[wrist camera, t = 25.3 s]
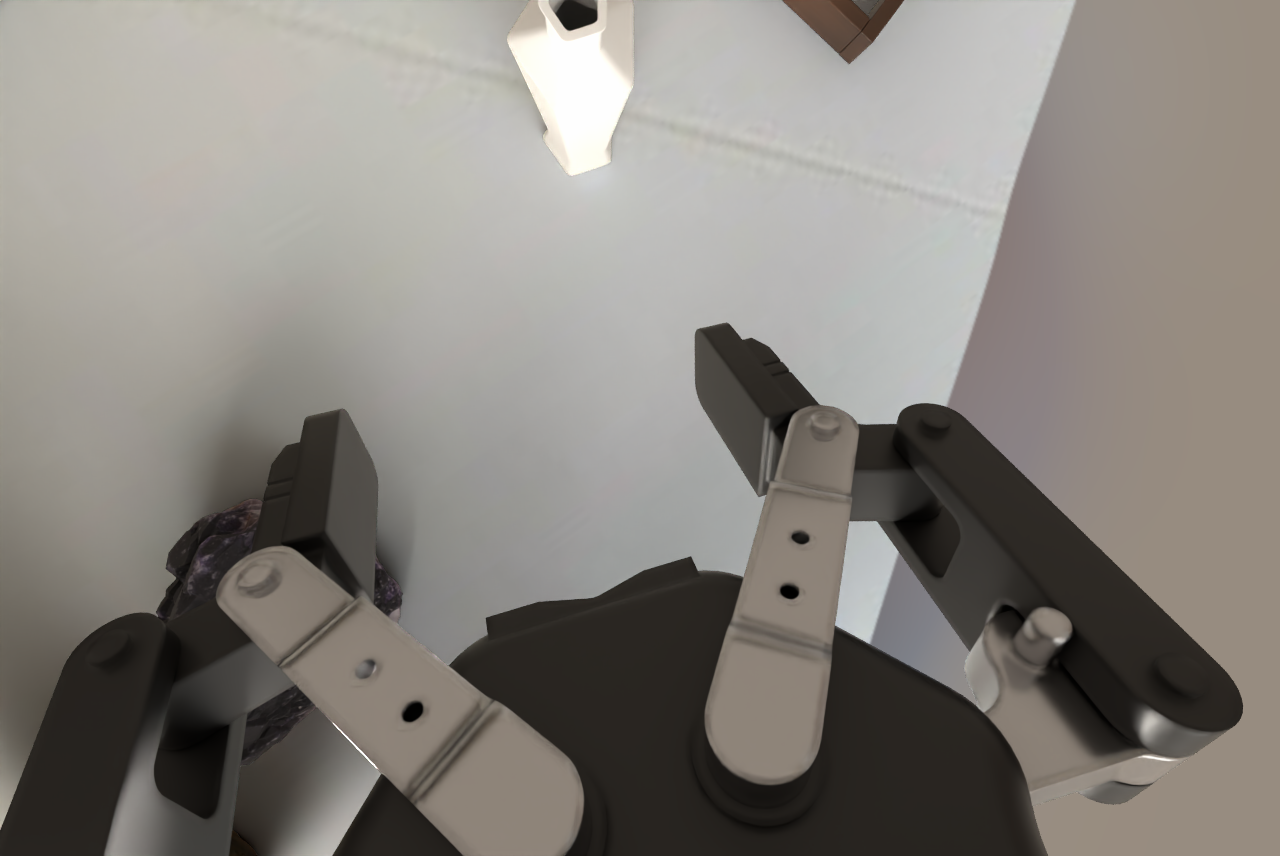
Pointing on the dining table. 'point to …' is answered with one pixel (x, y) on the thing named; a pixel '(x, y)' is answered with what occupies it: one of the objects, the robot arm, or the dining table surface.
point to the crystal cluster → (197, 579)
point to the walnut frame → (845, 22)
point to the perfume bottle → (577, 73)
